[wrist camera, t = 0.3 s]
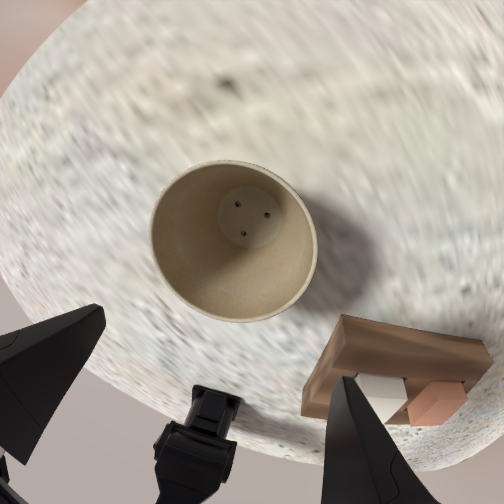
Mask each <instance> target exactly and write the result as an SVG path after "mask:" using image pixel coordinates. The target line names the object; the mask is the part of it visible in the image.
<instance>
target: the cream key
mask: <svg viewBox="0 0 504 504" xmlns="http://www.w3.org/2000/svg"><path fill="white" fill-rule="evenodd" d="M354 379H355V381H356V383H357V384H358V386H359V387H360V389H361V390H362V392H363V393H364V395H365V397H366V398H367V400H368V401H369V403H370V404H371V406H372V408H373V409H374V411H375V412H376V414H377V416H378V417H379V419H380V420H381V422H382V424H384V423H385V422H386V421H387V420H389V419H390V418H391V417H392V416H393V415H394V414H395V413H396V412H397V411H398V410H399V409H400V407H401V406H402V405H403V404H404V403H405V402H406V401H407V400H408V398H407V394H406V390H405V386H404V382H403V378H402V377H394V376H385V375H377V374H370V373H362V372H358V374H357V375H356V377H355V378H354Z"/></svg>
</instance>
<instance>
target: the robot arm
mask: <svg viewBox="0 0 504 504" xmlns="http://www.w3.org/2000/svg"><path fill="white" fill-rule="evenodd" d="M105 327H106V319H105V314H104V309H103V307H102V306H100V305H97V304H95V303H93V304H90V305H87V306H84V307H82V308H79V309H76V310H73V311H70V312H67V313H64V314H62V315H59V316H56V317H53V318H50V319H47V320H45V321H42V322H39V323H36V324H33V325H31V326H28V327H25V328H22V329H21V330H20V329H19V330H16V331H14V332H11V333H8V334H5V335H1V336H0V504H28V503H27V502H26V501H25V500H24V499H23V498H22V497H20V496H19V495H18V494H17V493H16V492H15V491H14V490H13V489H12V488H11V487H10V486H9V485H8V482H9V481H10V479H9V475H8V470H7V465H6V460H5V456H4V455H3V454H4V453H5V451H7V452H8V453H9V454H10V455H11V456H13V457H14V458H15V459H17V460H18V461H19V462H21V463H22V464H23V465H26V464H27V462H28V460H29V458H30V456H31V454H32V452H33V450H34V448H35V446H36V444H37V443H38V441H39V439H40V437H41V435H42V433H43V431H44V429H45V428H46V426H47V424H48V422H49V421H50V419H51V417H52V416H53V414H54V412H55V410H56V409H57V407H58V405H59V404H60V402H61V400H62V399H63V397H64V396H65V394H66V392H67V391H68V389H69V388H70V386H71V384H72V383H73V381H74V380H75V378H76V377H77V375H78V373H79V372H80V370H81V369H82V367H83V366H84V364H85V363H86V361H87V360H88V358H89V357H90V355H91V353H92V351H93V349H94V348H95V346H96V344H97V342H98V340H99V338H100V336H101V335H102V333H103V331H104V329H105ZM240 401H241V399H240V398H238V397H234V396H231V395H227V394H224V393H220V392H217V391H214V390H210V389H207V388H204V387H201V386H198V385H194V386H193V388H192V406H191V408H190V411H189V413H188V415H187V418H186V420H185V423H184V425H181V424H178V423H176V422H175V421H173V420H172V421H171V423H170V424H167V425H166V427H165V429H164V431H163V433H162V434H161V436H160V437H159V438H158V440H157V441H156V442H155V443H154V445H153V448H154V450H155V457H154V459H155V460H156V461H157V463H156V465H155V474H156V478H157V482H158V486H159V490H160V495H159V497H158V499H157V502H156V504H202V503H203V502H205V501H206V500H207V499H209V498H210V497H211V496H213V495H214V493H216V492H217V490H218V489H219V487H220V484H221V483H224V484H225V483H226V481H227V479H228V477H229V474H230V471H231V468H232V464H233V459H234V455H235V450H236V446H237V442H236V441H230V440H226V437H227V434H228V430H229V427H230V424H231V421H234V420H235V417H236V413H237V410H238V407H239V404H240ZM321 504H441V503H439V502H438V501H437V500H436V499H434V497H433V496H432V495H431V494H430V493H429V491H428V490H427V489H426V487H425V486H424V485H423V484H422V482H421V481H420V480H419V479H418V477H417V476H416V475H415V474H414V472H413V471H412V469H411V468H410V466H409V465H408V463H407V462H406V460H405V459H404V457H403V456H402V454H401V452H400V451H399V450H398V448H397V446H396V444H395V443H394V441H393V440H392V438H391V436H390V435H389V433H388V432H387V430H386V428H385V427H384V425H383V424H382V422H381V420H380V419H379V417H378V416H377V414H376V412H375V411H374V409H373V408H372V406H371V404H370V403H369V401H368V400H367V398H366V397H365V395H364V393H363V392H362V390H361V389H360V387H359V386H358V384H357V383H356V381H355V379H354V378H353V377H350V376H341V377H340V379H339V380H338V382H337V383H336V385H335V386H334V388H333V390H332V392H331V398H330V406H329V413H328V420H327V426H326V438H325V459H324V475H323V486H322V497H321Z"/></svg>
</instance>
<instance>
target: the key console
mask: <svg viewBox="0 0 504 504" xmlns="http://www.w3.org/2000/svg"><path fill="white" fill-rule="evenodd" d="M493 363H494V362H493V360H492V358H491V356H490V354H489V353H488V351H487V349H486V347H485V346H484V344H483V342H482V340H476V339H469V338H463V337H457V336H451V335H445V334H439V333H433V332H427V331H422V330H417V329H411V328H406V327H401V326H396V325H391V324H386V323H381V322H376V321H371V320H366V319H362V318H357V317H352V316H348V315H343V314H342V315H341V317H340V319H339V321H338V323H337V325H336V327H335V329H334V331H333V333H332V335H331V337H330V340H329V342H328V344H327V345H326V347H325V349H324V351H323V353H322V355H321V357H320V359H319V361H318V363H317V365H316V366H315V368H314V370H313V372H312V374H311V376H310V377H309V379H308V381H307V383H306V385H305V386H304V388H303V394H302V406H301V416H304V417H311V418H318V419H325V420H328V413H329V406H330V398H331V392H332V390H333V388H334V386H335V385H336V383H337V382H338V380H339V379H340V377H341V376H350V377H353V378H355V377H356V375H357V374H358V372H362V373H370V374H377V375H385V376H394V377H402V378H403V382H404V386H405V390H406V394H407V398H408V400H407V401H406V402H405V403H404V404H403V405H402V406H401V407H400V409H399V410H398V411H397V412H396V413H395V414H394V415H393V416H392V417H391V418H390V419H389V420H387V421H386V422H385V423H384V424H410V420H409V415H408V410H407V406H408V405H409V404H410V403H411V402H412V401H413V400H414V399H415V398H416V397H417V396H418V395H419V393H420V392H421V391H422V390H423V389H424V388H425V387H426V386H427V384H428V383H429V382H430V381H431V380H447V381H461V383H462V385H463V388H464V391H465V393H466V394H467V393H468V392H469V391H470V390H471V389H472V388H473V387H474V386H475V384H476V383H477V382H478V381H479V380H480V379H481V377H482V376H483V375H484V374H485V373H486V371H487V370H488V369H489V368H490V366H491V365H492V364H493Z"/></svg>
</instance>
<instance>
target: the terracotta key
mask: <svg viewBox="0 0 504 504" xmlns="http://www.w3.org/2000/svg"><path fill="white" fill-rule="evenodd" d="M467 400H468V399H467V396H466V393H465V391H464V388H463V385H462V383H461V381H447V380H431V381H430V382H429V383H428V384H427V386H426V387H425V388H424V389H423V390H422V391H421V392H420V393H419V395H418V396H417V397H416V398H415V399H414V400H413V401H412V402H411V403H410V404H409V405H408V406H407V410H408V415H409V420H410V426H433V425H442V424H443V423H444V422H445V421H446V420H447V419H448V418H450V417H451V416H452V415H453V414H454V413H455V412H456V411H457V410H458V409H459V408H460V407H461V406H462V405H463V404H464V403H465V402H466V401H467Z"/></svg>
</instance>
